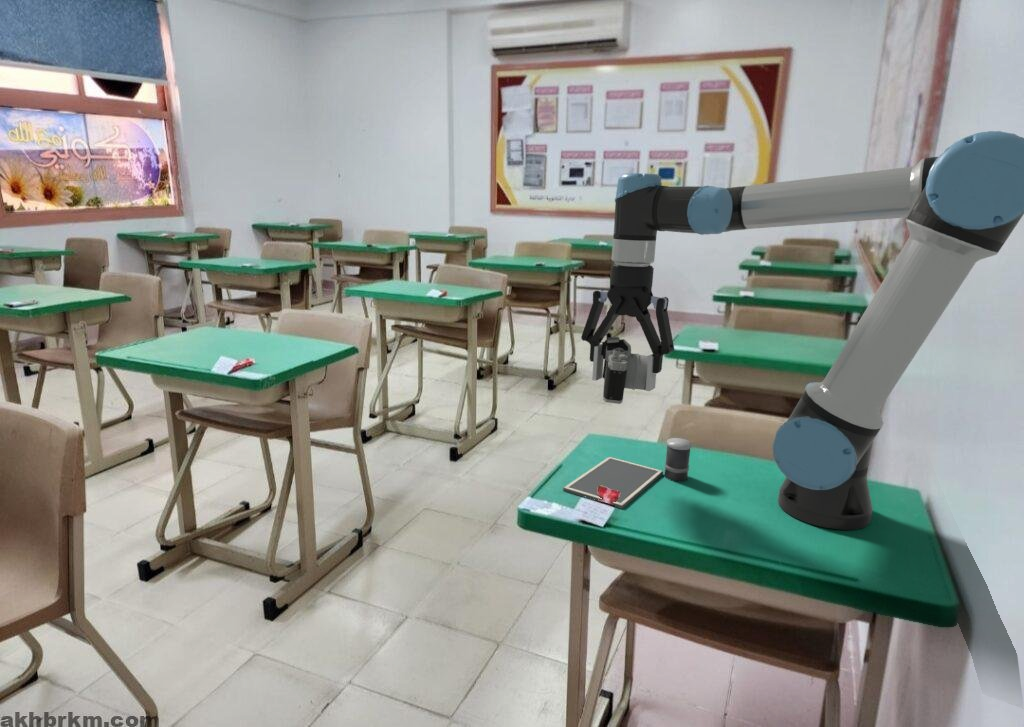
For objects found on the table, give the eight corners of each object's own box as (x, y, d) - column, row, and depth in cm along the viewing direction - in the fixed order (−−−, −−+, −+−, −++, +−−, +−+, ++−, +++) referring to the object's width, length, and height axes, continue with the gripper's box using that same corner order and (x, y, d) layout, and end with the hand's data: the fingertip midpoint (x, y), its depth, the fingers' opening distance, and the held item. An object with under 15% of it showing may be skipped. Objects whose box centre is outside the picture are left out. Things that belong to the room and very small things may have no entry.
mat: (662, 474, 130) (663, 471, 129) (622, 509, 114) (622, 505, 114) (608, 459, 136) (608, 456, 136) (563, 490, 121) (563, 487, 121)
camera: (647, 408, 113) (655, 353, 110) (595, 402, 114) (602, 347, 111) (643, 382, 128) (650, 333, 125) (597, 376, 129) (603, 327, 126)
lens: (691, 476, 129) (695, 441, 127) (683, 483, 125) (686, 448, 124) (668, 470, 132) (672, 436, 130) (660, 477, 128) (663, 442, 126)
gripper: (701, 267, 112) (689, 390, 118) (585, 257, 125) (579, 369, 130) (686, 270, 106) (674, 400, 112) (566, 260, 118) (560, 377, 124)
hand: (623, 384), depth 121 cm, fingers closed on camera, 10 cm apart
